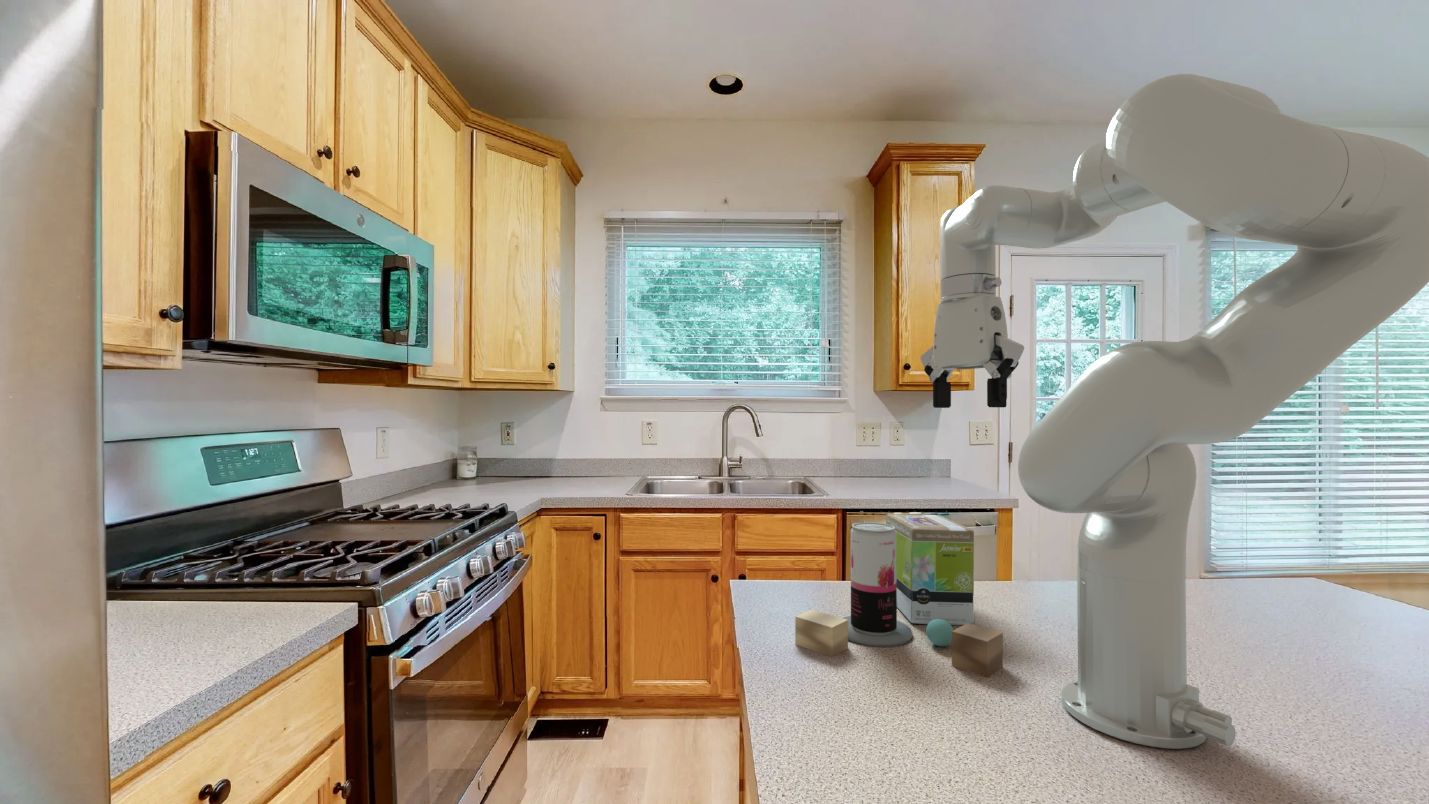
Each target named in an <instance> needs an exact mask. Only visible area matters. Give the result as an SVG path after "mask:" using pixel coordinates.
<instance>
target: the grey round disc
mask: <svg viewBox="0 0 1429 804" xmlns="http://www.w3.org/2000/svg"><path fill="white" fill-rule="evenodd" d="M842 618H843V619H847V620H848V642H852V643H855V644H859V645H863V646H870V647H882V648H884V647H886V648H887V647H896V646H903V645H905V644H907V643H909V642H910V641H911V640H912V638H913V631H912V628H911V627H910V626H909V625H907V624H906V623H904V622H902V621H900V620H897V628H896V630H894V631H893V632H892V633H891V634H887V635H870V634H865V633H862V632H859V631H857V630H856V629H855V628H854V627H853V626H852V625H851V615H848V616H844V617H842Z"/></svg>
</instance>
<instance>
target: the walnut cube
mask: <svg viewBox="0 0 1429 804" xmlns="http://www.w3.org/2000/svg"><path fill="white" fill-rule="evenodd" d="M1003 636H1004V635H1003V632H1002V631H998V630H994V629H992V628H987V627H984V626H980V625H976V624H973V623H972V624H970V623H967V624H965V625H960V627H958V628H955V629H953V631H952V642H951V667H954V668H956V669H957V668H958V669H960V670H963V671H965V672H969V673H972V674H975V675H978V676H981V677H984V678H986V679H987V678H989V677H991V676H992V675H994V674H995V673H996V672H998V671H1000V670H1001V669H1003V667H1004V648H1003V647H1004V646H1003V645H1004V643H1003V642H1004V639H1003V638H1004V637H1003Z"/></svg>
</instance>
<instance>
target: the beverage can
mask: <svg viewBox="0 0 1429 804" xmlns="http://www.w3.org/2000/svg"><path fill="white" fill-rule="evenodd" d="M897 611H898V607H897V565H896V531H895V527H894V526H892V525H889V524H886V523H883V522H882V523H881V522H870V521H869V522H857V523H855V522H854V523H853V524H851V529H850V616H851V625H852V626H853V627H854V628H855V629H856V630H857V631H859V632H862V633H865V634H870V635H887V634H891V633H892V632H893V631H894V630H896V628H897V621H898V619H897V617H898V616H897V615H898V614H897V613H898V612H897Z"/></svg>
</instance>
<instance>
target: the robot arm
mask: <svg viewBox="0 0 1429 804" xmlns="http://www.w3.org/2000/svg"><path fill="white" fill-rule="evenodd" d="M1165 202H1167V204H1169V205H1171V206H1173V207H1174V208H1176V209H1177V210H1179V211H1181V212H1182V213H1184V214H1185V215H1187V216H1189V217H1190V218H1192V219H1193V220H1195V221H1198V222H1199V223H1201V224H1203V226H1204V225H1205V226H1206V227H1208V228H1210V229H1213V230H1214V231H1217V232H1220V233H1222V234H1224V235H1228V236H1230V237H1235V238H1240V239H1245V240H1250V241H1260V242H1267V243H1275V244H1281V245H1283V244H1284V245H1289V246H1290V245H1291V246H1297V250H1296V251H1295V253H1294V254H1293V255H1292V256H1291V257H1290V258H1289V259H1288V260H1286V261H1285V262H1284V263H1282V264H1281V265H1279V266H1278V267H1276V268H1274V269H1272V270H1270V271H1269V272H1268V273H1266V274H1265V275H1263V276H1261V277H1260V278H1258V279H1257V280H1255V281H1253V282H1252V283H1251V284H1249V285H1248V286H1246V288H1244V289H1242V291H1240V292H1239V293H1238V294H1237V295H1236V296H1235V297H1234V298H1233V299H1232V300H1230V302H1228V303H1227V304H1226V306H1225V307H1224V308H1223V309H1222V310H1221V311H1220V312H1219V313H1218V314H1217V316H1215V317H1214V318H1213V319H1211V321H1210V322H1208V323H1207V325H1205V326H1204V327H1203V328H1202V329H1201V330H1200V331H1198V332H1196V333H1195V334H1194V335H1192V336H1191V337H1189V338H1187V339H1183V340H1180V341H1167V340H1166V341H1165V340H1164V341H1163V340H1162V341H1161V340H1146V341H1145V340H1144V341H1143V340H1142V341H1136V342H1132V343H1131V342H1130V343H1127V344H1123V345H1120V346H1118V347H1116V348H1114V349H1111V350H1110V351H1108V352H1106V353H1104V354H1103V355H1102V356H1100V357H1099V358H1097V359H1095V361H1092V363H1090V365H1089V366H1088V367H1087V368H1085V370H1084V371H1082V372H1081V374H1080V375H1079V377H1078V378H1077V379H1076V380H1075V381H1074V382H1073V383H1072V384H1071V386H1069V387H1068V388H1067V390H1066V391H1065V392H1064V393H1063V394H1062V396H1060V398H1059V399H1058V400H1057V401H1056V403H1054V404H1053V406H1052V407H1051V408H1050V409H1049V410H1048V412H1046V414H1045V415H1044V416H1043V417H1042V418H1041V420H1040V421H1039V422H1037V424H1036V425H1035V426H1034V427H1033V429H1032V430H1031V431H1030V432H1029V435H1027V438H1025V441H1024V443H1023V445H1022V446H1021V450H1020V451H1019V452H1020V453H1019V456H1018V462H1017V473H1018V477H1019V482H1020V485H1021V487H1022V489H1023V490H1024V492H1025V494H1027V496H1028V497H1029V498H1030V499H1031V500H1032V501H1034V502H1035V503H1036V504H1037V505H1039V506H1040V507H1042V508H1045V509H1047V510H1050V511H1053V512H1058V513H1065V514H1085V516H1084V517H1083V521H1082V524H1081V527H1080V530H1079V534H1078V539H1077V545H1076V546H1077V547H1076V548H1077V549H1076V574H1077V575H1076V576H1077V577H1076V581H1077V582H1076V583H1077V585H1076V587H1077V588H1076V595H1077V596H1076V598H1077V600H1076V601H1077V606H1076V607H1077V608H1076V610H1077V614H1076V616H1077V617H1076V618H1077V680H1075V681H1072V682H1069V683H1067V684H1066V685H1065V686H1063V688H1062V690H1061V703H1062V705H1063V707H1064V709H1065V710H1066V711H1067V713H1069V714H1070V715H1072V717H1074V718H1075V719H1077V720H1078V721H1080V722H1081V723H1083V724H1084V725H1086V726H1088V727H1089V728H1091V729H1094V730H1095V731H1098V732H1100V733H1102V734H1105V735H1107V736H1111V737H1113V738H1116V739H1119V740H1121V741H1126V742H1129V743H1133V744H1137V745H1141V746H1146V747H1152V748H1157V749H1158V748H1159V749H1170V750H1171V749H1172V750H1173V749H1174V750H1179V749H1190V748H1194V747H1198V746H1200V745H1201V744H1203V743H1205V741H1206V740H1207V738H1208V739H1210V740H1212V741H1215V742H1217V743H1219V744H1222V745H1224V746H1227V747H1232V745H1233V744H1234V742H1235V739H1236V736H1237V735H1236V733H1237V732H1236V728H1235V726H1234V725H1233V721H1232V717H1231V716H1230V715H1228V714H1225V713H1223V712H1221V711H1218V710H1214V709H1210V708H1207V707H1205V706H1204V705H1203V703H1202V702H1200V695H1199V694H1200V689H1199V688H1198V687H1196V686H1193V685H1190V684H1188V683H1187V682H1188V680H1187V679H1188V678H1187V677H1188V676H1187V673H1188V671H1187V661H1188V660H1187V600H1186V599H1187V589H1186V587H1187V582H1186V580H1187V579H1186V578H1187V535H1188V527H1189V525H1188V523H1189V520H1190V519H1189V518H1190V512H1191V508H1192V504H1193V499H1194V495H1195V491H1196V486H1197V485H1196V484H1197V464H1196V461H1195V457H1194V455H1193V452H1192V449H1191V448H1190V446H1189V445H1205V444H1206V445H1207V444H1208V445H1209V444H1217V443H1218V444H1219V443H1224V442H1227V441H1231V440H1233V439H1236V438H1239V437H1240V436H1243V434H1245V433H1246V432H1248V431H1249V430H1251V429H1252V428H1253V427H1255V426H1256V425H1257V424H1259V422H1261V421H1262V420H1264V418H1266V417H1267V416H1268V415H1269V414H1270V413H1271V412H1272V411H1274V410H1275V409H1277V408H1278V407H1279V406H1281V404H1283V403H1284V402H1285V401H1286V400H1287V401H1288V399H1289V398H1290V397H1292V396H1293V395H1294V394H1295V393H1297V392H1298V391H1299V390H1300V389H1302V388H1303V387H1304V386H1305V385H1307V384H1308V383H1309V382H1310V381H1311V380H1313V379H1314V378H1315V377H1317V376H1318V375H1319V374H1320V373H1321V372H1323V371H1324V370H1325V369H1326V368H1328V366H1330V365H1331V363H1333V362H1334V361H1335V360H1337V359H1338V358H1339V357H1340V356H1341V355H1342V354H1344V353H1345V352H1346V351H1348V349H1350V348H1351V347H1353V346H1354V345H1355V344H1357V342H1359V341H1360V340H1362V338H1364V337H1365V336H1367V335H1368V334H1369V333H1371V332H1372V331H1373V330H1375V329H1376V328H1377V327H1379V326H1380V325H1381V324H1382V323H1384V322H1385V321H1386V320H1388V319H1389V318H1390V317H1391V316H1393V315H1394V314H1395V313H1397V312H1398V311H1399V310H1400V309H1401V308H1403V307H1404V306H1405V305H1406V304H1407V303H1408V302H1409V301H1411V300H1412V299H1413V298H1414V297H1415V296H1416V295H1418V294H1419V292H1420V291H1421V290H1423V288H1425V286H1427V284H1428V283H1429V156H1427V155H1425V154H1423V153H1422V152H1420V151H1418V150H1416V149H1415V148H1412V147H1410V146H1408V145H1405V144H1403V143H1400V142H1397V141H1393V140H1391V139H1390V140H1389V139H1386V138H1383V137H1378V136H1374V135H1369V134H1364V133H1359V132H1353V131H1349V130H1348V131H1347V130H1343V129H1338V128H1335V127H1329V126H1326V125H1325V126H1324V125H1320V124H1316V123H1313V122H1312V123H1310V122H1309V121H1304V120H1301V119H1297V118H1295V117H1292V116H1289V115H1287V114H1284V113H1282V112H1281V110H1280V107H1279V106H1278V105H1277V103H1276V102H1274V100H1273V99H1272V98H1271V97H1269V96H1268V95H1266V94H1265V93H1263V92H1261V91H1259V90H1257V89H1255V88H1251V87H1250V86H1245V85H1240V84H1236V83H1233V82H1228V81H1224V80H1219V79H1215V78H1211V77H1207V76H1203V75H1198V74H1192V73H1178V74H1173V75H1167V76H1164V77H1161V78H1157V79H1156V80H1155V79H1154V80H1153V81H1152V82H1148V83H1146V84H1145V85H1144V86H1142V87H1141V88H1139V89H1138V90H1136V91H1135V92H1134V93H1132V94H1131V95H1130V96H1129V97H1128V98H1127V99H1126V100H1125V101H1123V103H1122V104H1121V105H1120V106H1119V107H1118V109H1117V111H1115V113H1114V115H1113V116H1112V119H1111V120H1110V123H1109V124H1108V128H1107V131H1106V135H1105V138H1104V139H1101V140H1099V141H1096V142H1094V143H1093V144H1090V145H1089V146H1088V147H1087V148H1086V149H1085V150H1084V151H1083V152H1082V153H1081V154H1080V156H1079V157H1078V159H1077V161H1076V163H1075V166H1074V169H1073V175H1072V186H1070V187H1067V188H1064V189H1060V190H1057V191H1052V192H1051V191H1044V190H1038V189H1037V190H1036V189H1030V188H1023V187H1014V186H1007V185H1000V184H997V185H996V184H993V185H987V186H984V187H981V188H980V189H979V190H977V191H976V192H975V193H974V194H972V195H971V196H970V197H969V198H968V199H967V200H965V202H964V203H963V204H961V205H958V206H955V207H953V208H950V209H948V210H946V212H945V213H944V214H943V215H942V217H941V218H940V227H939V229H940V230H939V231H940V233H939V234H940V236H939V238H940V240H939V241H940V242H939V245H940V246H939V247H940V248H939V250H940V263H939V264H940V303H939V304H938V305H937V310H936V315H935V322H934V331H933V346H932V347H930V348H928V350H926V351H925V352H924V353H923V354H921V356H920V360H921V364H922V366H923V368H924V369H923V371H924V373H926V375H927V376H928V380H929V382H931V383H932V406H933V408H935V409H936V408H937V409H938V408H939V409H950V408H951V407H952V384H951V382H949V378H950V377H951V376H952V374H953V372H954V371H955V370H972V369H973V370H978V369H984V370H985V371H987V373H988V374H989V375H990V377H991V378H990V377H989V378H987V380H986V404H987V407H988V408H1006V407H1007V405H1008V404H1007V403H1008V402H1007V399H1008V379H1011V378H1012V373H1013V372H1014V371H1015V370H1016V368H1017V367H1018V366H1019V363H1020V362H1019V360H1020V359H1021V357H1022V356H1023V352H1025V351H1024V350H1025V346H1024V345H1023V344H1021V343H1019V342H1016V341H1014V340H1012V339H1011V338H1009V337H1008V335H1009V334H1008V325H1007V318H1006V313H1005V308H1004V304H1003V301H1002V298H1001V297H1000V296H997V293H996V291H997V290H996V289H997V288H998V287H1001V285H1002V279H1001V278H1000V277H999V276H997V275H996V274H997V272H996V270H997V269H996V268H997V267H996V266H997V265H996V263H997V262H996V254H997V253H996V246H1010V247H1019V248H1027V249H1034V250H1035V249H1037V250H1038V249H1040V250H1041V249H1048V248H1054V247H1057V246H1062V245H1066V244H1070V243H1074V242H1077V241H1080V240H1084V239H1087V238H1090V237H1093V236H1095V235H1097V234H1099V233H1101V232H1102V231H1103V230H1105V229H1106V228H1107V227H1109V226H1110V225H1111V224H1112V223H1113V222H1114V221H1115V220H1116V219H1117V217H1119V216H1123V215H1125V214H1128V213H1131V212H1136V211H1138V210H1142V209H1145V208H1148V207H1152V206H1155V205H1159V204H1162V203H1165ZM996 276H997V277H996Z"/></svg>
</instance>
